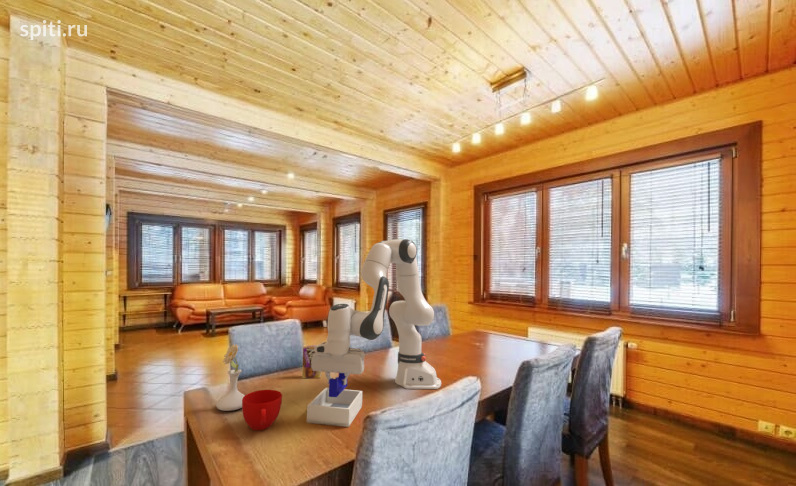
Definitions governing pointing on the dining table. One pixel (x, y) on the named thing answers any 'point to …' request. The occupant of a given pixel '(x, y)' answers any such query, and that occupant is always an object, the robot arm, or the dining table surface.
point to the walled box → (334, 408)
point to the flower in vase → (233, 396)
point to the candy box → (309, 363)
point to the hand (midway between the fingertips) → (337, 383)
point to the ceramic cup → (261, 408)
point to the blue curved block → (336, 385)
